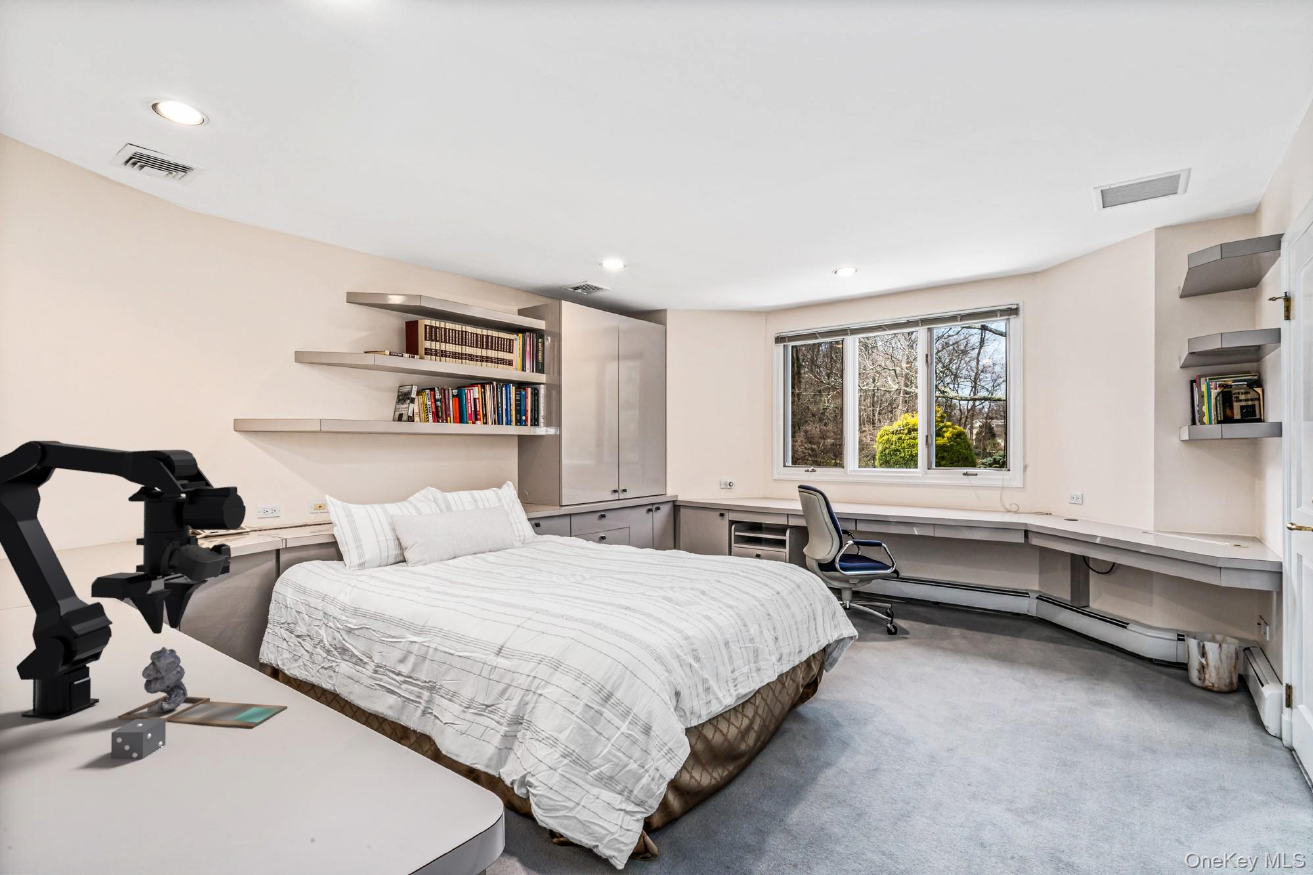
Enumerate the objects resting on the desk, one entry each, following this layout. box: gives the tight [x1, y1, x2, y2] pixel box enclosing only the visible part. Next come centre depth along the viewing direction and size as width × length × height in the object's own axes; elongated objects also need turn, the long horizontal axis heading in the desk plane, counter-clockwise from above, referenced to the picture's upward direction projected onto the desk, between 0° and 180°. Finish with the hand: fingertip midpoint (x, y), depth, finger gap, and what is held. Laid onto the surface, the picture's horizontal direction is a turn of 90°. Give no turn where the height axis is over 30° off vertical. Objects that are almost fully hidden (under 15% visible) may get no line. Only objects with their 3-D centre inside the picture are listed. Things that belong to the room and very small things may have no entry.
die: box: [110, 719, 167, 760], centre depth 85 cm, size 4×4×4 cm
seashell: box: [141, 646, 189, 714], centre depth 98 cm, size 5×5×10 cm
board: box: [167, 700, 288, 729], centre depth 97 cm, size 15×7×1 cm, turn 82°
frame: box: [117, 694, 211, 723], centre depth 98 cm, size 8×8×1 cm
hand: (165, 630), depth 98 cm, fingers open, 3 cm apart
